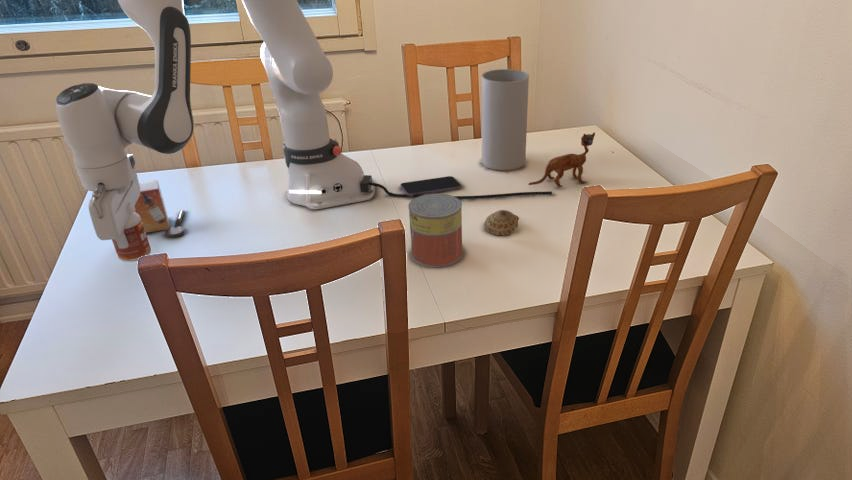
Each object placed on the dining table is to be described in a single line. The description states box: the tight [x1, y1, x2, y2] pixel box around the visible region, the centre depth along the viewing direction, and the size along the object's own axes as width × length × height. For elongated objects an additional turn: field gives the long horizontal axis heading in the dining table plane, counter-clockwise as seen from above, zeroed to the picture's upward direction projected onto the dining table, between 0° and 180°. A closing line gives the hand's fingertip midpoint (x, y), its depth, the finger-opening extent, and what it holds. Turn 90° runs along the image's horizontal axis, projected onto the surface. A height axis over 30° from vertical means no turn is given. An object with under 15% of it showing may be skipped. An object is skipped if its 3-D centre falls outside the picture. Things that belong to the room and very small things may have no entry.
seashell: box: [483, 209, 520, 236], centre depth 152 cm, size 8×6×8 cm
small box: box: [134, 179, 171, 234], centre depth 150 cm, size 8×6×10 cm
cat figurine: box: [527, 131, 596, 188], centre depth 170 cm, size 18×7×14 cm, turn 109°
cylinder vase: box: [481, 68, 530, 172], centre depth 179 cm, size 12×12×25 cm
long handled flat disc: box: [164, 209, 185, 239], centre depth 154 cm, size 13×4×1 cm, turn 13°
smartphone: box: [400, 175, 462, 196], centre depth 171 cm, size 7×1×15 cm
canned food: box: [407, 192, 464, 268], centre depth 139 cm, size 11×11×12 cm
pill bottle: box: [111, 202, 152, 263], centre depth 128 cm, size 6×6×11 cm
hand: (129, 237), depth 129 cm, fingers closed on pill bottle, 6 cm apart
